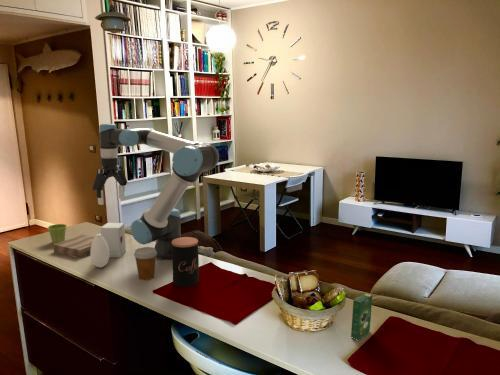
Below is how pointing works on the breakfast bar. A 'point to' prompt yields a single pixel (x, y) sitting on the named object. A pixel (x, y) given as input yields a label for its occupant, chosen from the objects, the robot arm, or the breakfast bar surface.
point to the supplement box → (114, 238)
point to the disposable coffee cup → (145, 262)
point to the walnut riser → (75, 246)
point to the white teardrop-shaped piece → (99, 251)
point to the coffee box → (361, 316)
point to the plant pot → (57, 232)
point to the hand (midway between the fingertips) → (111, 201)
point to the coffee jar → (185, 261)
